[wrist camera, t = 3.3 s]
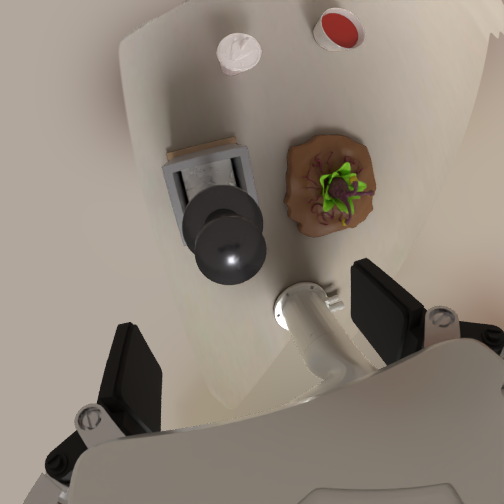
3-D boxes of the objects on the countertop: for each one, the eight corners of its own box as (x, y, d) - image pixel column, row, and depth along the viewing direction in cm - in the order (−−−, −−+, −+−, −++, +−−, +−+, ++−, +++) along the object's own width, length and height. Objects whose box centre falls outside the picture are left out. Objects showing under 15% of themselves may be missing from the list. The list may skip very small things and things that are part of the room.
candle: (356, 40, 41) (373, 32, 35) (333, 64, 43) (349, 58, 37) (323, 11, 38) (337, 0, 32) (298, 34, 39) (311, 23, 34)
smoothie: (256, 61, 41) (278, 37, 28) (237, 89, 42) (253, 71, 30) (225, 44, 38) (236, 13, 26) (205, 72, 40) (209, 47, 27)
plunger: (229, 156, 38) (276, 185, 16) (239, 202, 41) (292, 286, 19) (180, 168, 37) (159, 214, 15) (192, 214, 40) (192, 312, 18)
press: (234, 136, 46) (253, 136, 30) (247, 201, 51) (271, 231, 35) (166, 153, 44) (151, 161, 29) (183, 217, 50) (178, 255, 34)
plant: (366, 130, 50) (400, 132, 39) (372, 219, 58) (403, 237, 48) (272, 141, 48) (293, 143, 37) (288, 239, 56) (309, 264, 46)
